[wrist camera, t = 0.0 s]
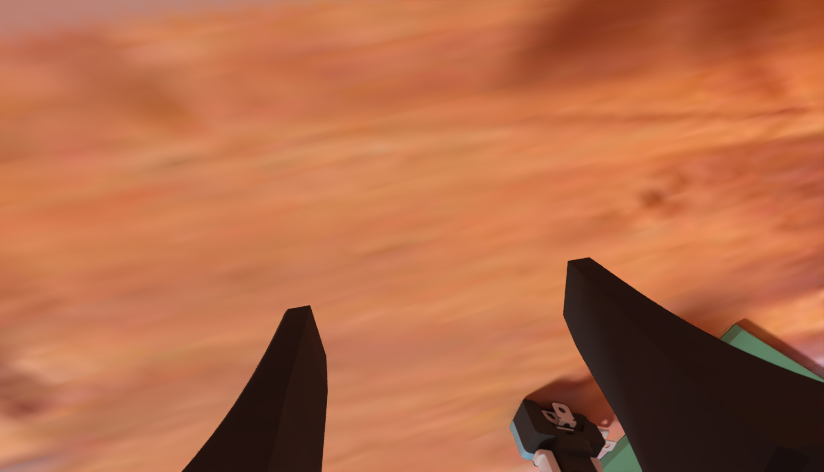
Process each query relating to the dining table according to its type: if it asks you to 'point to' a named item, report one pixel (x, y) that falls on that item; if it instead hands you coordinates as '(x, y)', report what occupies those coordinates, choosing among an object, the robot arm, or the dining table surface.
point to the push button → (558, 438)
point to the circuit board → (622, 461)
